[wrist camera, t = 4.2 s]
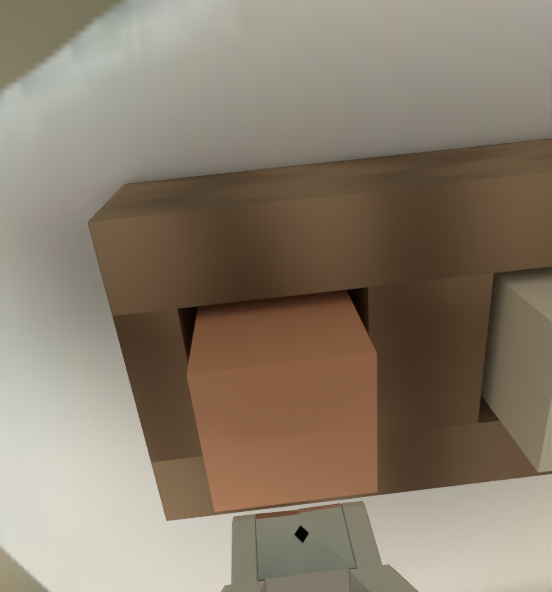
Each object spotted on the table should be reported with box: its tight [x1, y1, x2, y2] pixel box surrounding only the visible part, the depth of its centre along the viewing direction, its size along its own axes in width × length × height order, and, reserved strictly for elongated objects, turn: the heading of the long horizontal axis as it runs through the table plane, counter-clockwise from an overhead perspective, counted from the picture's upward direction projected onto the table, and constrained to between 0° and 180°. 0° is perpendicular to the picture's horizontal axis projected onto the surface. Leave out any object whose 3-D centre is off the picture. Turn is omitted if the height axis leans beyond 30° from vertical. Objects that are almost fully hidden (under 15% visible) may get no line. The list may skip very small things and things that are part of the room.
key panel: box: [88, 139, 552, 521], centre depth 19 cm, size 20×12×5 cm, turn 95°
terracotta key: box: [187, 290, 377, 512], centre depth 16 cm, size 5×5×5 cm
